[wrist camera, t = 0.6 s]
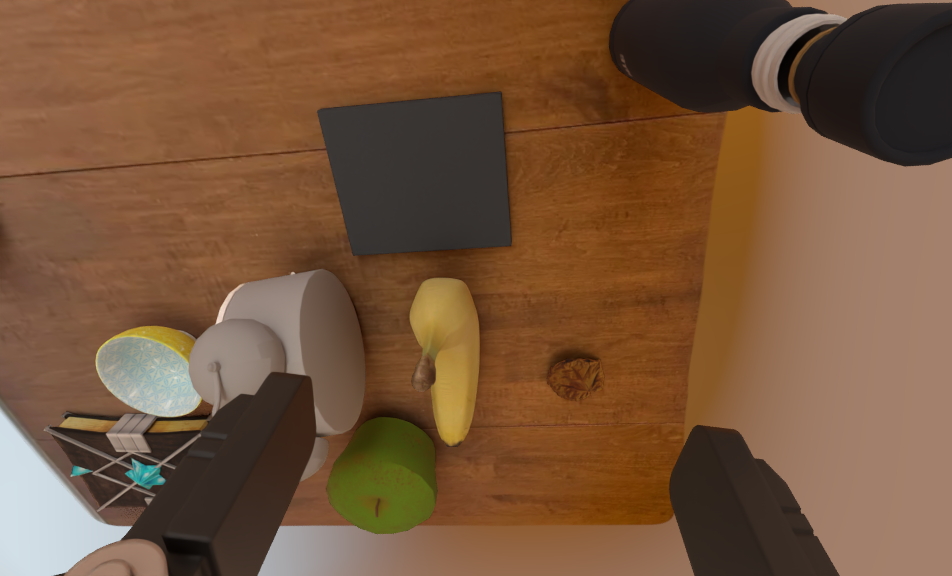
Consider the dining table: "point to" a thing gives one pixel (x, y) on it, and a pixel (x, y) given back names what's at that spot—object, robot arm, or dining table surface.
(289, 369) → the alarm clock
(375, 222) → the mat
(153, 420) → the book
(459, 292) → the banana
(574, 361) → the leaf
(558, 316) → the dining table surface
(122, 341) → the bowl
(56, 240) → the dining table surface
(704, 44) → the insulated water bottle
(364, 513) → the apple
